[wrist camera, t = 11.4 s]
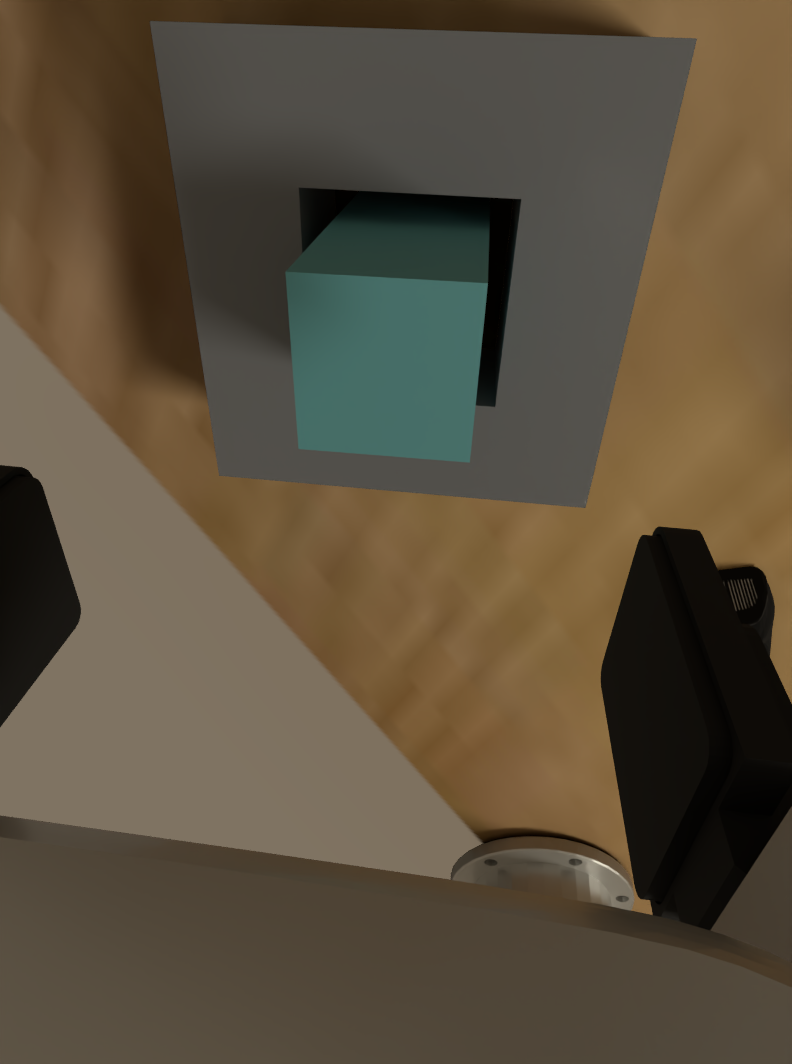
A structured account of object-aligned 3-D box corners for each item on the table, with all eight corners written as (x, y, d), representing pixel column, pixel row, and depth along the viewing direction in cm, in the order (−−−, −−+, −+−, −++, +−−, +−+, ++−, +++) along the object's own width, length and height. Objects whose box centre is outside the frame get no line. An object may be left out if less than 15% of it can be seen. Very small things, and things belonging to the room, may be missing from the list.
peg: (490, 196, 22) (487, 283, 14) (478, 327, 25) (469, 462, 17) (359, 190, 23) (285, 271, 15) (361, 319, 25) (298, 448, 17)
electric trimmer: (685, 770, 39) (699, 820, 37) (676, 571, 31) (693, 620, 28) (755, 766, 38) (774, 817, 36) (766, 560, 30) (792, 609, 27)
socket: (654, 40, 19) (697, 38, 15) (571, 438, 27) (585, 507, 23) (218, 25, 20) (149, 21, 16) (258, 413, 28) (219, 475, 24)
